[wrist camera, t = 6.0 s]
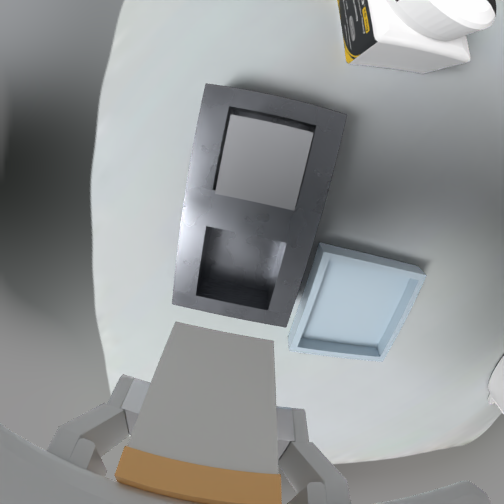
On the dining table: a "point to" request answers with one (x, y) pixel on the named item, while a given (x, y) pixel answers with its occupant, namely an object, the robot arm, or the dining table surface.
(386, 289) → the tray
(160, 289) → the dining table surface
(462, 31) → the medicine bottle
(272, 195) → the grey rectangular block
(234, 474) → the plug
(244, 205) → the square-holed metal block
